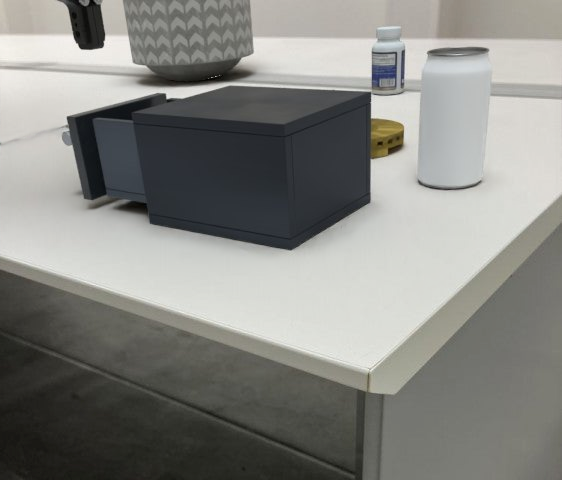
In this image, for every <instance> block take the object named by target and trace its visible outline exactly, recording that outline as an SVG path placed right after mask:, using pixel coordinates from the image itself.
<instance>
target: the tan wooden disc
mask: <svg viewBox="0 0 562 480" xmlns="http://www.w3.org/2000/svg"><path fill="white" fill-rule="evenodd" d="M404 141H405V126H404V124H403V123H401V122H399V121H396V120H392V119H384V118H374V117H373V118H372V117H371V159H377V158H382V157H386V156H389V149H391V148H394V147H397V146H404Z"/></svg>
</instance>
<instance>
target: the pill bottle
mask: <svg viewBox="0 0 562 480" xmlns="http://www.w3.org/2000/svg"><path fill="white" fill-rule="evenodd" d="M401 37H402V26H399V25H398V26H397V25H395V26H393V25H391V26H380V27H377V28H375V39H377V41H376V42H375V43H373V44H372V46H371V94H374V95H378V96H379V95H380V96H390V95H398V94H402V93H403V92H404V91H405V71H406V67H405V66H406V45H405V43H404V42H403V41H401V39H400V38H401Z"/></svg>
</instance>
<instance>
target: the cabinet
mask: <svg viewBox="0 0 562 480" xmlns="http://www.w3.org/2000/svg"><path fill="white" fill-rule="evenodd" d="M131 114H132V120H133V123H134V124H133V125H134V131H135V137H136V143H137V149H138V155H139V161H140V167H141V173H142V179H143V185H144V191H145V197H146V203H145V204H146V208H147V214H148V222H149V224H152V225H156V226H163V227H168V228H173V229H178V230H184V231H189V232H194V233H199V234H205V235H210V236H216V237H221V238H226V239H232V240H237V241H241V242H247V243H253V244H257V245H264V246H269V247H274V248H277V249H284V250H289V251H291V250H293V249H295V248H297V247H298V246H300V245H301V244H303V243H305V242H306V241H308V240H310V239H311V238H313V237H315V236H316V235H318V234H320V233H321V232H323V231H325V230H326V229H327V228H329V227H331V226H333V225H335V224H336V223H337V222H340V221H341V220H342V219H343V220H344V218H346V217H348V216H349V215H351V214H352V213H354V212H356V211H358V210H359V209H361V208H362V207H364V206H366V205H368V204H369V203H370V202H371V201H372V198H371V196H372V192H371V186H372V185H371V184H372V181H371V177H372V176H371V175H372V173H371V172H372V163H371V162H372V158H371V118H372V91H367V90H365V91H363V90H362V91H361V90H340V89H339V90H338V89H318V88H297V87H276V86H274V87H273V86H251V85H226V86H222V87H220V88H215V89H212V90H209V91H205V92H201V93H197V94H194V95H190V96H187V97H182V99H179V100H176V101H172V102H168V103H165V104H161V105H157V106H154V107H150V108H147V109H143V110H139V111H136V112H132V113H131Z"/></svg>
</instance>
